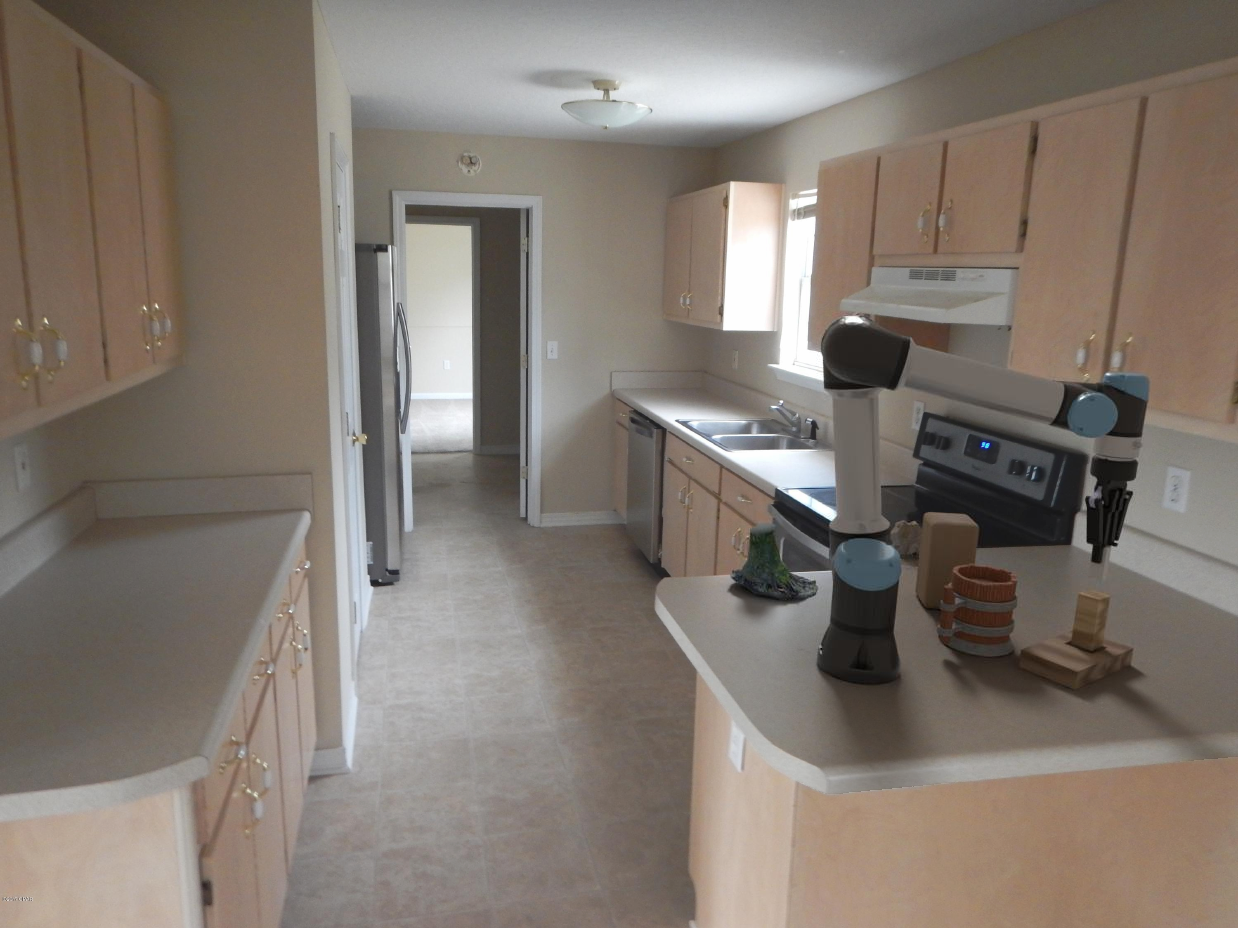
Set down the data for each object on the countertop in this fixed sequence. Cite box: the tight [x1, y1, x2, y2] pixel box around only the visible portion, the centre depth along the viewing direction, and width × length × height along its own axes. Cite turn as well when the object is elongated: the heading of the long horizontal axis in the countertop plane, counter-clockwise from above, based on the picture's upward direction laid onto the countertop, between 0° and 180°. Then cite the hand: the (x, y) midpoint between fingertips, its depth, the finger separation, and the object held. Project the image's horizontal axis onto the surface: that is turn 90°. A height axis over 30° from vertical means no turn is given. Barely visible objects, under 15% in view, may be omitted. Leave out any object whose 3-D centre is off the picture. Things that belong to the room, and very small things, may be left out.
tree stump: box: [729, 522, 818, 601], centre depth 206 cm, size 18×20×18 cm
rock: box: [890, 520, 922, 558], centre depth 233 cm, size 9×12×10 cm
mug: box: [936, 564, 1019, 658], centre depth 177 cm, size 14×19×15 cm
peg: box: [1070, 589, 1111, 654], centre depth 171 cm, size 4×4×14 cm
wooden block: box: [914, 511, 980, 610], centre depth 200 cm, size 10×10×20 cm
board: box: [1018, 630, 1134, 690], centre depth 171 cm, size 20×11×4 cm, turn 124°
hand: (1097, 578), depth 169 cm, fingers closed
